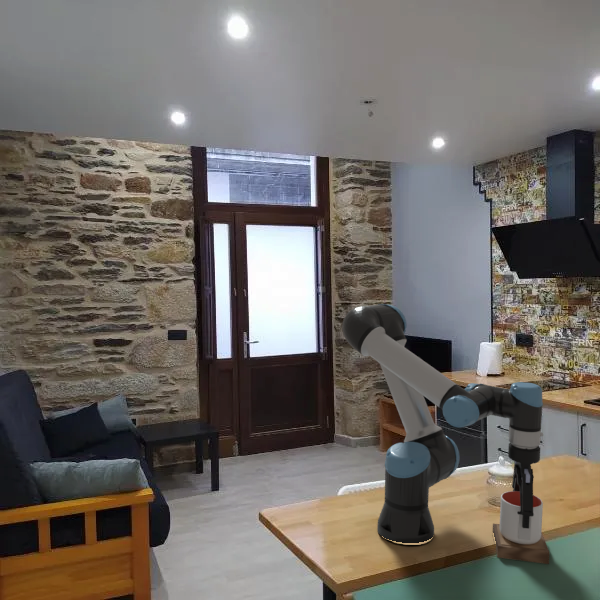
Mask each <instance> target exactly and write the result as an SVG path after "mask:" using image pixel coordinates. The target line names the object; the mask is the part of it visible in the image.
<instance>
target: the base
mask: <svg viewBox="0 0 600 600" xmlns="http://www.w3.org/2000/svg"><path fill="white" fill-rule="evenodd" d="M492 532H493V533H494V537H495V541H496V548H495V553H496V557H497V558H498V559H507V560H515V561H522V562H530V563H537V564H544V565H546V564H547V565H550V553H551V552H550V550H549V547H548V545H547V543H546V542H547V541H546V539H545V537H544V535H543V532H542V531H541V538H540V540H539V541H538V542H536V543H534V544H519V543H515V542H512V541H510V540H508V539H506V538H505V537H504V536H503V535H502V534H501V532H500V523H492Z"/></svg>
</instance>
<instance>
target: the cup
mask: <svg viewBox="0 0 600 600" xmlns="http://www.w3.org/2000/svg"><path fill="white" fill-rule="evenodd" d="M543 504H544V502H543V501H542V499H541V498H540V497H538V496H536V495H535V494H533V513H534V515H533V516H531V537H530V540H524V539H519V538H518V532H519V514H517V512H518V511H519V512H520V491H513V490H510V491H509V490H508V491H505V492H503V493H502V494H501V495H500V507H499V509H500V511H499V524H500V532H501V534H502V535H503V536H504V537H505V538H506V539H508V540H510V541H512V542H515V543H519V544H534V543H536V542H538V541H539V540H540V538H541V532H542V525H543V508H544V507H543V506H544V505H543Z"/></svg>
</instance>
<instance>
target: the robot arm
mask: <svg viewBox="0 0 600 600" xmlns="http://www.w3.org/2000/svg"><path fill="white" fill-rule="evenodd" d="M341 327H342V334H343V337H344V338H345V341H346V342H347V343H348V345H350V346H351V347H352V348H353V349H354V350H355V351H356V352H358V353H359V354H360V355H362V356H364V357H369V356H370V357H371V358H372V359H374V361H376V362H378V363H379V365H380V368H381V370H382V374H383V376H384V378H385V382H386V383H387V386H388V389H389V393H390V394H391V397H392V400H393V401H394V404H395V407H396V410H397V412H398V415H399V417H400V420H401V423H402V425H403V427H404V431H405V434H406V435H405V438H404V440H403V442H397V443H395V444H392V445H391V446H390V447H389V448H388V449H387V451H386V454H385V461H384V469H385V472H384V475H385V476H384V503H383V506H382V508H381V510H380V514H379V517H378V519H377V529H376V530H377V533H378V534H380V535H381V536H383V537H384V538H386V539H389V540H392V541H396V542H402V543H419V542H424V541H427V540H429V539H431V538H432V537H433V535H434V536H435V525H434V522H433V518H432V515H431V511H430V508H429V496H430V494H429V492H430V488H431V487H434V486H435V485H436V484H438V483H439V482H441V481H443V480H446V479H448V478H449V477H450V476H451V475H452V474H454V473H455V471H456V470H457V469H458V466H459V463H460V451H459V449H458V445H457V444H456V443H455V441H454V440H453V439H452V438H450V437H449V436H447V435H445V433H444V430H443V428H442V427H441V426H439V425H436V423H435V422H434V419H433V417H432V414H431V411H430V410H429V407H428V404H427V401H426V399H427V400H429V401H430V402H431V403H432V404H434V405H435V406H437V407H438V408H440V409H441V410H442V414H443V418H444V419H445V421H446V422H447V423H448V425H451V427H454V428H459V429H460V428H464V427H468V426H472V425H474V424H475V423H476V422H478V421H480V420H482V419H485V418H487V417H489V416H495V417H499V418H504V419H509V421H508V422H509V426H508V442H509V443H508V446H507V447H508V448H507V450H508V451H507V454H508V458H509V459H510V460H511V461H513V462H514V463H513V475H512V485H511V488H512V491H520V512H519V511H518V512H517V514H519V532H518V538H519V539H524V540H530V537H531V516H533V515H534V513H533V495H534V477H535V476H534V471H533V470H534V469H533V468H532V466H531V465H533V464H537V463H539V462H540V460H541V447H540V445H541V440H542V439H541V437H544V432H542V420H543V419H542V417H543V406H544V402H543V389H542V387H541V386H540V385H538V384H536V383H532V382H523V381H517V382H513V383H511V385H510V388H505V387H499V386H493V385H489V384H485V383H475V382H472V383H471V382H470V383H468V384H467V385H466V387H465V388H463V387H461V386H460V385H459V384H458V383H456V382H454V381H453V380H451V379H450V378H449V377H447V376H446V375H444V374H443V373H442V372H440V371H439V370H437V369H436V368H435V367H433V366H431V364H429V363H428V362H426V361H424V360H423V359H422V358H421V357H420V356H417V355H416V354H415V353H413V352H412V351H410V350H409V349H408V348H407V347H405V346H406V343H407V338H406V335H405V333H406V329H407V319H406V316H405V314H404V313H403V311H402V310H401V309H400V308H398V307H397V306H395V305H392V304H387V303H378V304H373V305H361V306H357V307H356V306H355V307H354V308H352V309H351V310H349V311H348V312H347V313H346V315H345V316H344V318H343V321H342V326H341ZM425 398H426V399H425ZM380 535H379V536H380ZM381 536H380V537H381ZM384 538H383V539H384Z"/></svg>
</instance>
